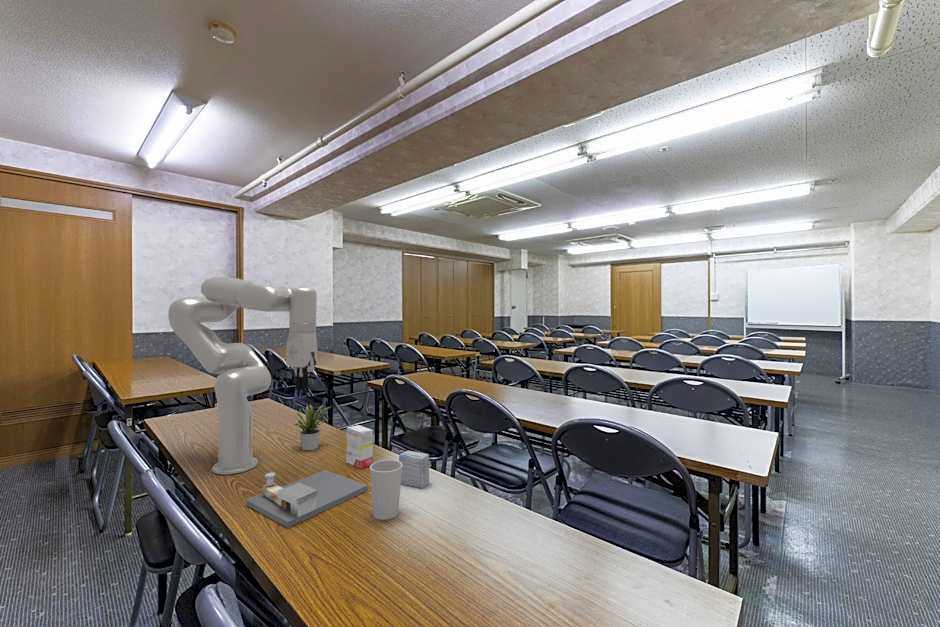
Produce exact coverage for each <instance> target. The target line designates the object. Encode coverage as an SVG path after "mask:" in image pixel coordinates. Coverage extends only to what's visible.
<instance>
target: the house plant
mask: <svg viewBox="0 0 940 627" xmlns="http://www.w3.org/2000/svg"><path fill="white" fill-rule="evenodd" d="M309 406H310V407H309ZM309 406H308V405H306V407H305V414H306V415H305V420H304V418H303V417H302V415H301V414H300V412H297V411H296V410H293V409H291V411H293V412H294V413H296V415H297V416H298V417H299V418H300V419H296V420H297V422H298V423H294V424H293V425H294V426H296V427H299V428H301V430H300V432H299V436H300V440H301V441H300V442H301V448H302V451H304V450H312V451H315V450H314V449H316V448H317V449H319V441H320V436H321V429H319V428H320V426H321V425H322V424H323V423H324V422H326V421H328V418H326V419H321V417H322V416H323V415H325V414H326V413H327V411H325V410H326V409H330V408H331V406H328V407H324V408H323V409H322V407H323V406H324V404H323V405H320V406H319V407H318V408H317V409H316V411H315V410H314V409H313V408H314V407H313V405H312V404H311V403H309ZM324 411H325V412H324ZM330 419H331V418H329V420H330ZM320 422H321V423H320ZM317 449H316V450H317Z"/></svg>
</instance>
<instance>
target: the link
mask: <svg viewBox="0 0 940 627" xmlns="http://www.w3.org/2000/svg"><path fill="white" fill-rule="evenodd" d="M281 489H283V488H282V487H281V486H280V485H278V483H276V482H274V484H273V485H271V486H267V483H265V484H263V485H262V494H263V496H266V497H268V498H269V499H271V500H272V501H274V502H275V503H277V504H278V505H280V506H281V507H282V508H283V509H285V510H288V509H290V508H291V503H289V502H287V501H284V500H282V499H280V498H278V497H277V491H279V490H281Z"/></svg>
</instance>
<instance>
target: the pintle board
mask: <svg viewBox="0 0 940 627" xmlns="http://www.w3.org/2000/svg"><path fill="white" fill-rule="evenodd" d="M275 477H276V472H272V471H271V472H268V473H265V475H264V478H265V479H266V484H267V486H271V485H273V484H274V483H275V482H274V481H275V480H274V478H275ZM297 483H302V484H304V485H306V486H309V487H311V488H313V489H316V490H318V497H316V509H315V510H313V511H311V512H308V513H306V514H304V515H302V516H300V517H296V516H294V515H292V514H291V508H290V509H288V510H285V509H283V508H282V507H281V506H280V505H278V504H277V503H275V502H274V501H272V500H271V499H269V498H268V497H266V496H263V493H260V494H258V495H255V496H252V497H249V498H247V499H245V505H247V506H246V507H248V506H249V507H248V508H250V507H251V508H250V509H252V508H253V509H254V511H255V510H256V511H255V512H257V511H258V512H257V513H259V512H260V513H259V514H261V515H263V516H264V515H265V517H266V518H268V519H270V520H272V521H274V522H276V523H277V524H280V525H281V526H283V527H285V528H287V529H290V528H291V526H292V527H294V526H296V525H298V524H301V523H302V522H304V520H305V521H306V519H307V520H308V519H311V518H313V517H316V516H317V515H319V514H321V513H324V512H326V511H328V510H330V509H332V508H334V507H336V506H338V505H341V504H343V503H345V502H347V501H349V500H351V499H354V498H355V497H357V496H359V494H360V495H362V494H364V493H366V492H368V490H369V485H368V484H366V483H362V482H360V481H357V480H355V479H352V478H349V477H346V476H343V475H340V474H338V473H335V472H334V471H333V472H332V471H330V470H327V469H324V470H322V471H319V472H316V473H314V474H311V475H308V476H305V477H304V478H301V479H298V480H295V481H292V482H290V483H287V484H285V485H281V486H280V487H282V488H283V489H284V488H286V487H289V486H292V485H294V484H297ZM363 492H364V493H363ZM361 493H362V494H361ZM253 509H252V510H253ZM301 521H302V522H301ZM297 523H298V524H297ZM295 524H296V525H295ZM293 525H294V526H293ZM289 527H290V528H289Z"/></svg>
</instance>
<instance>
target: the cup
mask: <svg viewBox="0 0 940 627" xmlns="http://www.w3.org/2000/svg"><path fill="white" fill-rule="evenodd" d="M369 471H370V472H369V474H370V484H371V497H372V498H371V499H372V500H371V501H372V513H373V514H372V516H373V517H374V519H376V520H380V521H386V520H387V521H388V520H391V519H394V518H396V517H397V516H398V515H399V514H398V513H400V499H401V498H400V497H401V496H400V495H401V485H402V484H401V475H402V463H401V462H399V460H397V459H396V460H395V459H383V460H377V461H375V462H373V464H371V465H370V466H369Z"/></svg>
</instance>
